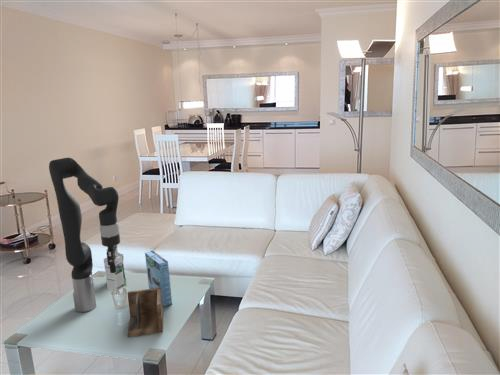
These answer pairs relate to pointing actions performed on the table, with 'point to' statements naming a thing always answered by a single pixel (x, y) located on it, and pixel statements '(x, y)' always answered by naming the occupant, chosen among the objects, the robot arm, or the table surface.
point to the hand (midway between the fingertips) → (114, 268)
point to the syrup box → (115, 274)
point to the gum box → (159, 276)
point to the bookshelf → (145, 312)
